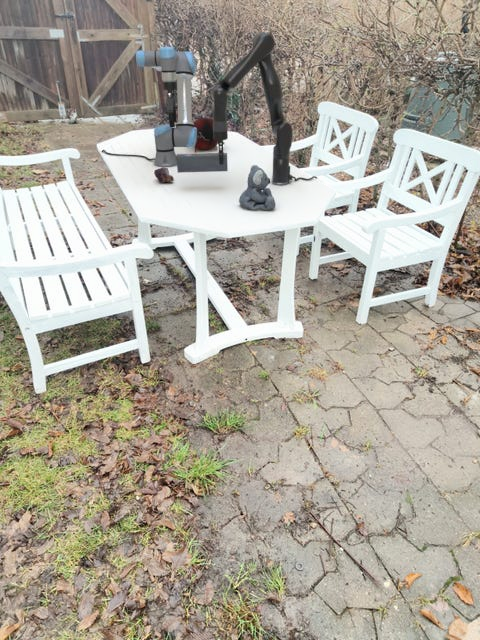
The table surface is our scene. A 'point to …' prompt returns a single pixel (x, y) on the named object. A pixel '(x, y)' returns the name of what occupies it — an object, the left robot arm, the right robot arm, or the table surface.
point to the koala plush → (257, 191)
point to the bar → (201, 162)
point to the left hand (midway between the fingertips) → (173, 124)
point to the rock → (163, 175)
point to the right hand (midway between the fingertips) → (221, 162)
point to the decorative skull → (204, 134)
